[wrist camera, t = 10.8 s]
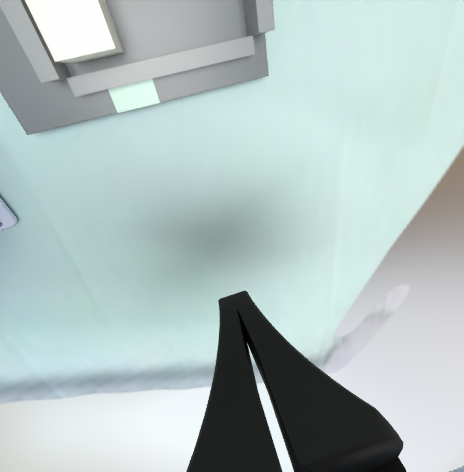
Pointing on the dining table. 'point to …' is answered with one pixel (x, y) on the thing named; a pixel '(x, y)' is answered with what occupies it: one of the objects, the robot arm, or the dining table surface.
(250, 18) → the switch bank
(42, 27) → the tab
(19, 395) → the dining table surface
